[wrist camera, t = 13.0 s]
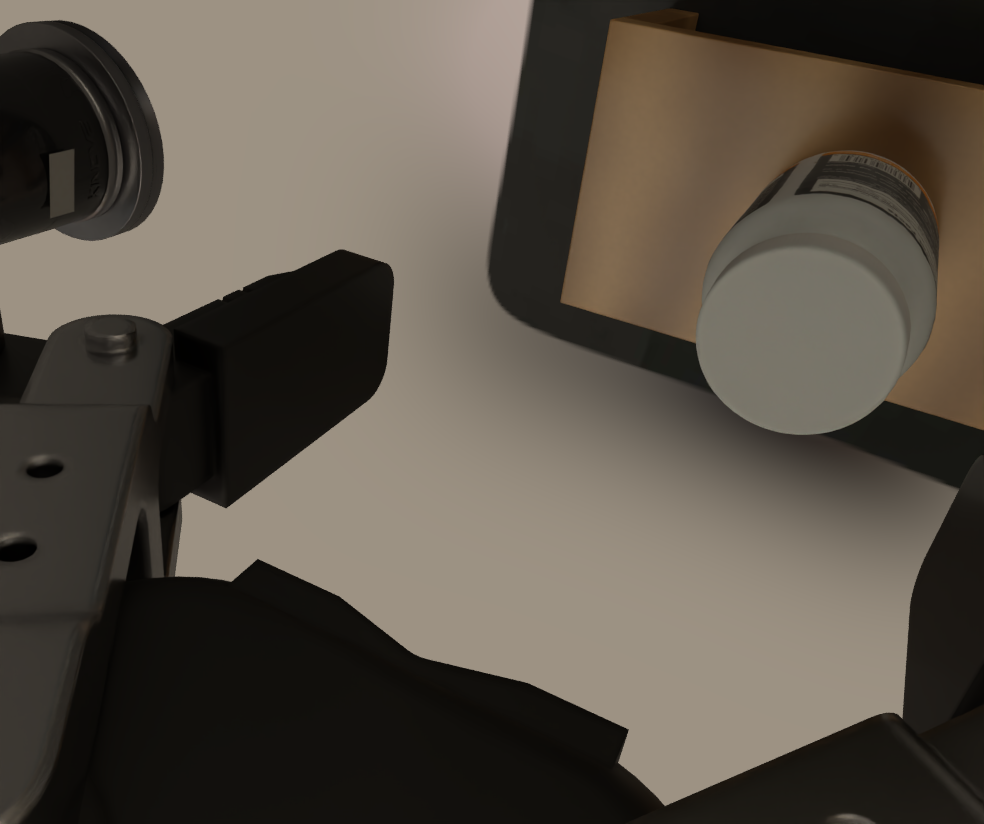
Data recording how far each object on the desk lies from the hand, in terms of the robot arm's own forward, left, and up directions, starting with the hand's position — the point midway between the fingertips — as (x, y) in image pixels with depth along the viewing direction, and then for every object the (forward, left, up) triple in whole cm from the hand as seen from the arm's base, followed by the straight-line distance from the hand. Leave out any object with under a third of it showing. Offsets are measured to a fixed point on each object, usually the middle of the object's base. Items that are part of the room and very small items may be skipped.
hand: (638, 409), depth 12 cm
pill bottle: (+1, -2, -20) cm, 20 cm away
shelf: (+1, -2, -27) cm, 27 cm away
